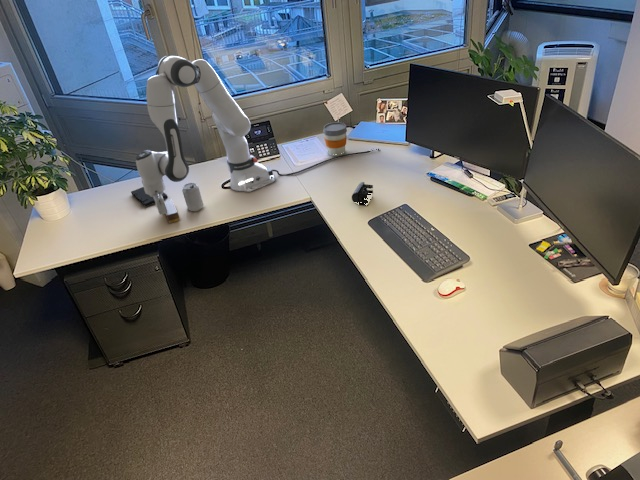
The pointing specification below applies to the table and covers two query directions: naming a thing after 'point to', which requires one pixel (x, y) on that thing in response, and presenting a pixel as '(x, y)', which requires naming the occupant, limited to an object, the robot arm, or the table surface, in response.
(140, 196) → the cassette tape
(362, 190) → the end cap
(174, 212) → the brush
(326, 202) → the table surface
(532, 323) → the table surface
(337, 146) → the reusable coffee cup
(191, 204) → the can
